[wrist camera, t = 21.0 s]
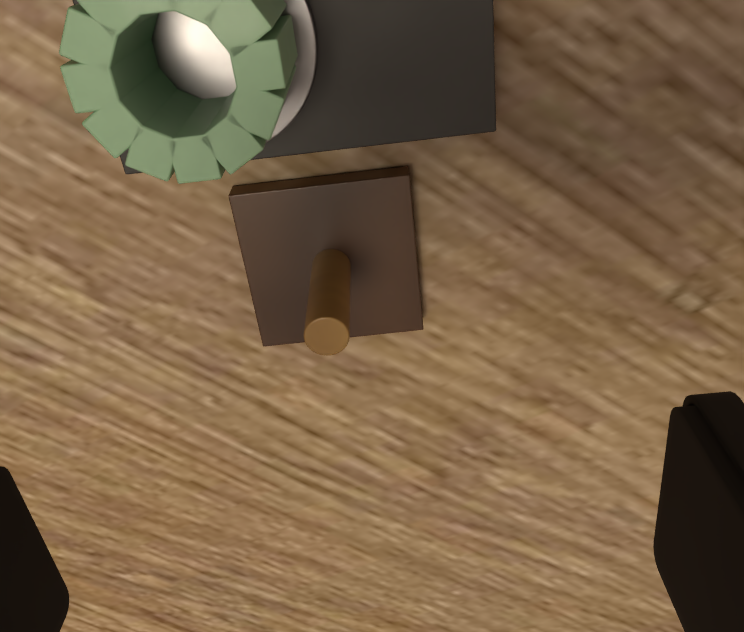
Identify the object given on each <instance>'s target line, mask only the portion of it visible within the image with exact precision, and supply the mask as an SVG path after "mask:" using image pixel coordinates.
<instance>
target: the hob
mask: <svg viewBox="0 0 744 632" xmlns="http://www.w3.org/2000/svg"><path fill="white" fill-rule="evenodd" d="M307 1H308V3H309V6H310V9H311V12H312V15H313V19H314V24H315V28H316V35H317V63H316V69H315V75H314V79H313V83H312V86H311V89H310V92H309V94H308V97H307V99H306V101H305V103H304V105H303V107H302V108H301V110H300V111H299V113H298V114H297V116H296V117H295V118H294V120H293V121H292V122H291V123H290V124H289V125H288V127H286V128H285V129H284V130H283V131H282V132H281V133H280V134H279V135H277V136H276V137H274V138H273V139H271V140H270V141H268V142H267V143H265V146H264V149H263V150H262V151H261V152H260V153H258V154H257V155H256V156H255V157H253V158H252V159H251V160H254V159H263V158H271V157H280V156H288V155H297V154H306V153H314V152H323V151H331V150H340V149H348V148H357V147H366V146H374V145H383V144H391V143H400V142H408V141H417V140H425V139H434V138H443V137H451V136H460V135H468V134H477V133H485V132H494V131H496V104H495V60H494V16H493V0H307ZM73 3H74V5H76V4H79V2H78V1H77V0H73ZM128 150H129V149H127V150H126V151H125V152H124V153H123V154H121V155H120V158H121V161H122V164H123V167H124V171H125V174H134V173H143V172H141V171H138V170H136V169H133V168H130V167H128V166H126V165H125V162H126V158H127V154H128Z"/></svg>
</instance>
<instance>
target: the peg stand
mask: <svg viewBox="0 0 744 632" xmlns="http://www.w3.org/2000/svg"><path fill="white" fill-rule="evenodd" d="M229 200H230V204H231V209H232V213H233V217H234V222H235V226H236V230H237V235H238V239H239V244H240V248H241V252H242V257H243V261H244V265H245V270H246V274H247V278H248V283H249V287H250V291H251V296H252V300H253V304H254V309H255V313H256V317H257V322H258V326H259V330H260V335H261V339H262V343H263V346H272V345H282V344H291V343H300V342H305V343H306V345H307V346H308V347H309V348H310V349H311V350H312V351H313V352H315V353H317V354H320V355H334V354H337V353H339V352H341V351H342V350H343V349H344V348H345V347H346V346H347V344H348V342H349V337H357V336H367V335H376V334H386V333H395V332H405V331H414V330H423V319H422V308H421V297H420V285H419V274H418V263H417V252H416V241H415V229H414V218H413V207H412V196H411V185H410V174H409V169H408V166H404V167H396V168H387V169H378V170H370V171H361V172H352V173H344V174H335V175H326V176H318V177H309V178H300V179H292V180H283V181H274V182H266V183H257V184H248V185H240V186H233V187H232V189H231V191H230V194H229Z"/></svg>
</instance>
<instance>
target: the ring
mask: <svg viewBox="0 0 744 632" xmlns="http://www.w3.org/2000/svg"><path fill="white" fill-rule="evenodd" d="M77 1H78V2H79V4H76V5H73V6H71V7H69V8H68V10H67V15H66V20H65V25H64V30H63V35H62V40H61V45H60V50H59V54H60V55H61V56H64V57H66V58H69V59H71V60H70V61H69V62H67V63H65V64H63V65H62V66H61V67H60V69H61V72H62V75H63V78H64V81H65V84H66V87H67V90H68V93H69V96H70V99H71V102H72V105H73V108H74V111H75V113H85V112H93V111H94V112H93V113H92V114H91V115H90V116H89V117H88V118H86V119H85V120H84V121H83V123H82V124H83V126H84V127H85V128H86V129H87V130H88V131H89V132H90V133H91V134H92V135H93V136H94V137H95V138H96V139H97V141H98V142H99V143H100V144H101V145H102V146H103V147H104V148H105V149H106V150H107V151H108V152H109V153H110V154H111V155H112V156H113V157H114V158H118V157H119V156H120V155H121V154H123V153H124V152H125V151H126V150H127V149H129V150H128V154H127V158H126V162H125V165H126V166H128V167H130V168H133V169H136V170H138V171H141V172H143V173H146V174H149V175H151V176H154V177H156V178H159V179H162V180H164V181H168V180H169V179H170V178H171V176H172V175H173V173H174V172H175V174H176V178H177V181H178V183H179V184H181V183H189V182H198V181H207V180H215V179H221V178H222V176H223V173H224V171H225V169H226V171H227V172H228V173H229V174H233V173H234V172H235V171H236V170H238V169H239V168H240V167H242V166H243V165H244V164H246V163H247V162H248V161H249V160H251V159H252V158H253V157H255V156H256V155H257V154H258V153H260V152H261V151H262V150H263V149H264V146H265V143H266V141H267V140H270V139H271V137H272V134H273V131H274V129H275V126H276V123H277V121H278V118H279V115H280V112H281V110H282V107H283V104H284V101H285V99H286V96H287V93H288V90H289V87H290V85H291V82H292V79H293V76H294V73H295V70H296V66H295V65H294V64H295V61H296V59H297V56H298V54H297V48H296V42H295V36H294V29H293V23H292V17H291V15H284V16H280V15H281V14H282V12H283V11H284V9H285V8H286V6H287V5H286V3H285V2H284V0H77ZM170 11H176V12H178V13H180V14H183V15H185V16H187V17H189V18H192V19H194V20H196V21H198V22H201V23H203V24H205V25H207V26H208V27H209V29H210V30H211V31H212V32H213V34H214V35H215V36H216V37H217V39H218V40H219V41H220V42H221V43H222V45H223V46H224V47H225V48H226V50H227V51H228V52H229V54H230V59H231V63H232V68H233V73H234V78H235V83H236V89H235V91H234V92H233V93H231V94H230V95H229V96H225V97H217V98H209V99H200V98H198V97H195V96H193V95H191V94H188V93H186V92H183V91H181V90H179V89H177V88H176V87H175V86H174V84H173V83H172V82H171V81H170V80H169V79H168V78H167V76H166V75H165V74H164V73H163V72H162V71H161V69H160V68H159V67H158V63H157V59H156V55H155V51H154V48H153V44H152V40H151V39H152V36H153V32H154V28H155V24H156V20H157V16H158V13H162V12H170Z"/></svg>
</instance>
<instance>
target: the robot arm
mask: <svg viewBox="0 0 744 632" xmlns="http://www.w3.org/2000/svg"><path fill="white" fill-rule="evenodd" d="M654 556H655V561H656V565H657V568H658V571H659V573H660V576H661V578H662V580H663V582H664V585H665V587H666V589H667V592H668V594H669V596H670V599H671V601H672V603H673V606H674V608H675V610H676V613H677V615H678V617H679V620H680V622H681V624H682V627H683V629H684V631H685V632H744V403H743V402H742V400H741V399H740V398H739V397H738V396H737V395H736V394H735V393H733V392H719V393H708V394H696V395H689V396H687V397H686V398H685V400H684V403H683V407H675V408H673V409H672V411H671V415H670V421H669V429H668V436H667V444H666V452H665V459H664V467H663V475H662V482H661V490H660V498H659V505H658V513H657V521H656V528H655V536H654ZM68 607H69V593H68V590H67V587H66V585H65V583H64V581H63V579H62V577H61V575H60V573H59V571H58V569H57V567H56V565H55V563H54V561H53V559H52V557H51V554H50V552H49V550H48V548H47V546H46V544H45V542H44V540H43V538H42V536H41V534H40V532H39V530H38V528H37V526H36V524H35V522H34V520H33V518H32V516H31V514H30V512H29V510H28V508H27V506H26V504H25V502H24V500H23V498H22V496H21V494H20V492H19V490H18V488H17V486H16V484H15V482H14V480H13V478H12V476H11V474H10V472H9V471H8V469H6V468H5V467H1V466H0V632H60V629H61V627H62V625H63V622H64V620H65V618H66V615H67V612H68Z"/></svg>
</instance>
